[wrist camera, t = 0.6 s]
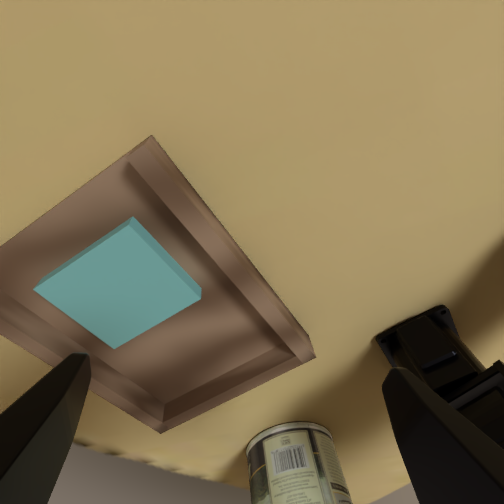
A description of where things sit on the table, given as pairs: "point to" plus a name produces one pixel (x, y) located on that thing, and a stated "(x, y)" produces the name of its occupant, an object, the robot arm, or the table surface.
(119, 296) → the cover plate
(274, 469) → the coffee can
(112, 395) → the brown flat tray
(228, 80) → the table surface
